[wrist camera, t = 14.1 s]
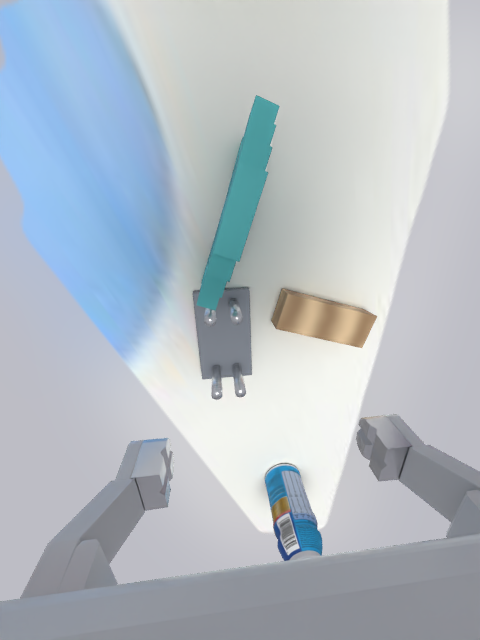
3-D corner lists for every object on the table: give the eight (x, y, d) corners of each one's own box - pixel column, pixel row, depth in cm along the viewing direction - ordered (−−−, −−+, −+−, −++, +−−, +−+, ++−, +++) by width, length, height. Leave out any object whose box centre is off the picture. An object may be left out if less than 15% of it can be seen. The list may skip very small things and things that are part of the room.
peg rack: (193, 291, 41) (187, 308, 32) (248, 287, 41) (256, 303, 33) (202, 374, 47) (200, 407, 38) (250, 370, 47) (258, 401, 39)
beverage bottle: (300, 459, 57) (342, 574, 38) (298, 485, 60) (336, 603, 41) (263, 464, 56) (287, 582, 38) (263, 489, 59) (286, 611, 41)
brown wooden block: (363, 308, 45) (377, 316, 42) (350, 338, 47) (361, 347, 44) (281, 287, 42) (288, 294, 39) (270, 320, 44) (276, 328, 41)
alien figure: (215, 284, 41) (215, 334, 22) (201, 280, 40) (191, 328, 22) (256, 148, 35) (304, 60, 16) (241, 142, 34) (272, 43, 16)
